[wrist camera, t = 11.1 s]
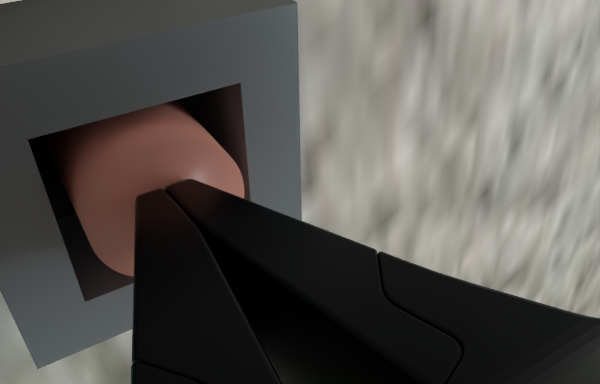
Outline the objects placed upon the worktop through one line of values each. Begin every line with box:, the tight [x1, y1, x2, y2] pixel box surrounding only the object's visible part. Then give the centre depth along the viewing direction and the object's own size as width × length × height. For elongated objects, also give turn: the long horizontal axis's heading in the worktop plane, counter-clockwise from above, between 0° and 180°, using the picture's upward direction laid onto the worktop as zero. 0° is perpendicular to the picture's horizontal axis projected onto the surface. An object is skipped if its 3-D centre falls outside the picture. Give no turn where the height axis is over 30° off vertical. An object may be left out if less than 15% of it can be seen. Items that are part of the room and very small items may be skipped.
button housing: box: [0, 0, 302, 369], centre depth 10 cm, size 5×5×2 cm
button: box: [48, 100, 244, 277], centre depth 9 cm, size 2×2×3 cm
